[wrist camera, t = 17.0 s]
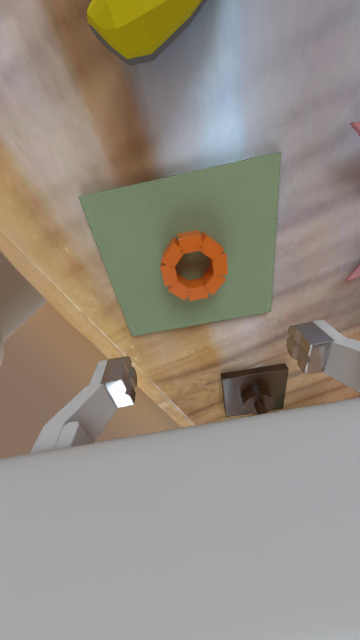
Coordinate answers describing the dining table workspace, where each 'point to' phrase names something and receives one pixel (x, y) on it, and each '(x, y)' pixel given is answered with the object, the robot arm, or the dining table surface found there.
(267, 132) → the dining table surface
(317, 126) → the dining table surface
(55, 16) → the dining table surface
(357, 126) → the decorative flower
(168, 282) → the ring
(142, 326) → the mat
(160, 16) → the yellow shoe
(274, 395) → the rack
